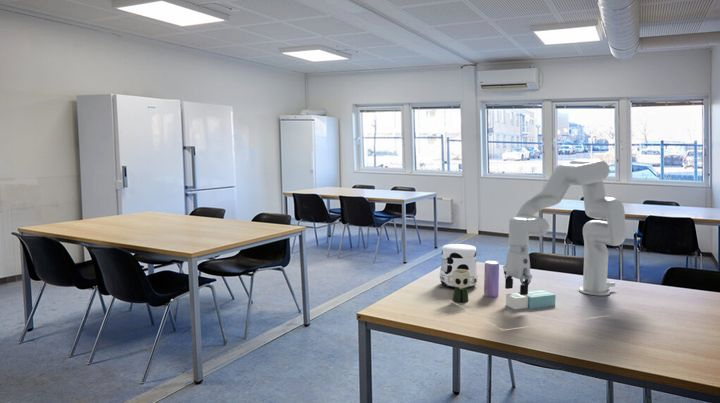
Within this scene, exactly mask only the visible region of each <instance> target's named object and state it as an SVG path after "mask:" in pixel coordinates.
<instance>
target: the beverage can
mask: <svg viewBox="0 0 720 403" xmlns="http://www.w3.org/2000/svg"><path fill="white" fill-rule="evenodd" d="M499 262H500V261H497V260H486V261H484V276H483V278H484V280H483V281H484V284H483V295H484V297H487V298H497V297H499V290H500V284H499V280H500V264H499Z"/></svg>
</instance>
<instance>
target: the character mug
mask: <svg viewBox="0 0 720 403" xmlns="http://www.w3.org/2000/svg"><path fill="white" fill-rule="evenodd" d="M450 277H452V280H450ZM470 277H472V281H470ZM448 283H452V284H453V286H455V288H453V289H454V290H453V294H452V295H453V296H452V300H453V302H456V303H461V302H462V303H467V302H468V301H469V294H468V293H469V292H468V288H466V287H468V286H469V284H470V283H474V275H470V271H469V270H465V269H455V270H453V271H452V275H448Z"/></svg>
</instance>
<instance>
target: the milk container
mask: <svg viewBox="0 0 720 403" xmlns="http://www.w3.org/2000/svg"><path fill="white" fill-rule="evenodd" d="M455 269H465V270H469V271H470V275H474V283H470V284H469V286H468V287H466V288H467V289H469V288H472V287H475V286H476V285H477V283H478V280H479V274H478V270H477V247H476V246H475V245H470V244H462V243H460V244H459V243H453V244H450V243H449V244H445V245H443V246H442V248H441V267H440V271H439V280H440V283H441V285H443V286H445V287H448V288H453V289H455V286H453V284H452V283H448V275H452V271H453V270H455ZM450 280H452V277H450ZM470 281H472V277H470Z"/></svg>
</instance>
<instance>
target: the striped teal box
mask: <svg viewBox="0 0 720 403" xmlns="http://www.w3.org/2000/svg"><path fill="white" fill-rule="evenodd" d="M517 293H520V291H519V292H517ZM525 296H528V308H527V309H537V308H545V307H555V306H556V294H555V293H553V292H550V291H548V290H546V289H545V290H544V289H543V288H541V289H537V290H534V289H533V290H528V294H527V295H525Z"/></svg>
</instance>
